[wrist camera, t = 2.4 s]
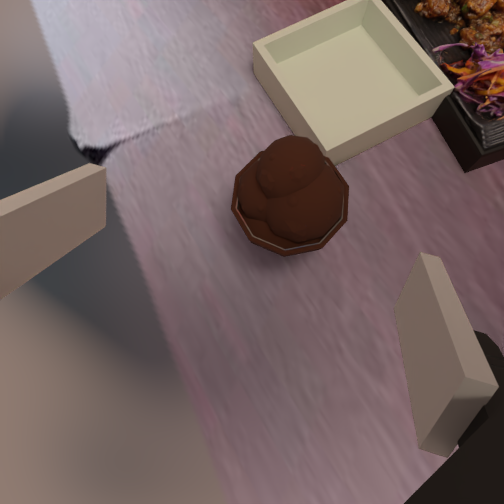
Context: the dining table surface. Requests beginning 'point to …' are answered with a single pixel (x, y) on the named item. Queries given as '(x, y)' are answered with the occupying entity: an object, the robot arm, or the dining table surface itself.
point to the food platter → (464, 71)
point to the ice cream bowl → (290, 197)
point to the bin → (349, 78)
